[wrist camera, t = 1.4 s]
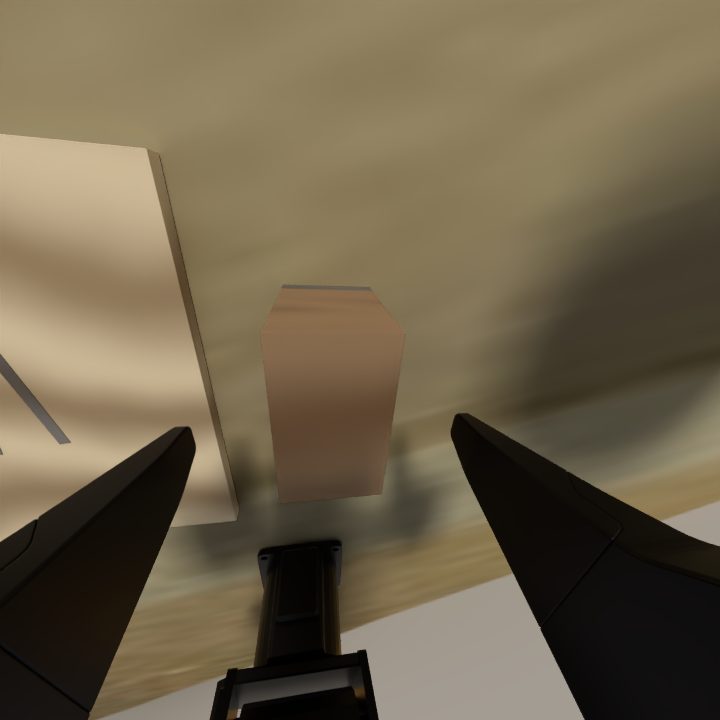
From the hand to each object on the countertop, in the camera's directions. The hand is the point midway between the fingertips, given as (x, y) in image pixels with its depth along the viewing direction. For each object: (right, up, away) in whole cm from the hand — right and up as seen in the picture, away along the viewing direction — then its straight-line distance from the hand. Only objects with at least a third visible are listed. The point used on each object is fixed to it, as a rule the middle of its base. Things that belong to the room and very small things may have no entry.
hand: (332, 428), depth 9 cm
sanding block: (-1, +3, +5) cm, 6 cm away
